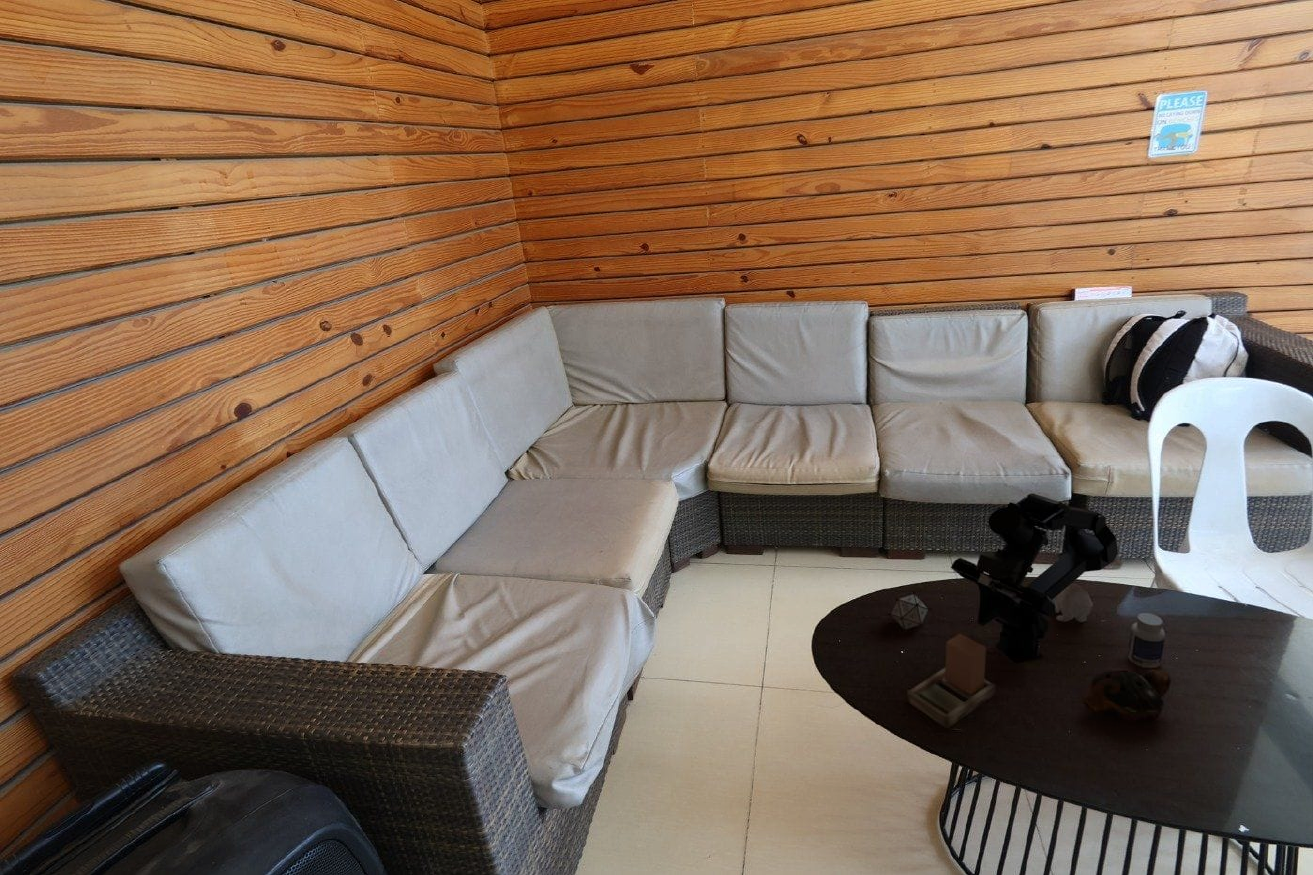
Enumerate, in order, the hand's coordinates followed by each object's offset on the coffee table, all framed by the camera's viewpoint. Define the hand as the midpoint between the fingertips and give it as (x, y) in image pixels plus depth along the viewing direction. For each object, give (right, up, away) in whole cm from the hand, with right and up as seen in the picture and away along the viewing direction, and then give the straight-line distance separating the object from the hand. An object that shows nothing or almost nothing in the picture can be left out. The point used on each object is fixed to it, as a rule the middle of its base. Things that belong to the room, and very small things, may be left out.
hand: (980, 624), depth 129 cm
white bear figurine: (+29, -3, +21) cm, 36 cm away
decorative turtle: (+23, -14, -7) cm, 28 cm away
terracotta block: (-2, -12, +2) cm, 12 cm away
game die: (-5, -7, +22) cm, 24 cm away
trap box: (-5, -14, +1) cm, 16 cm away
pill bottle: (+35, -8, +4) cm, 36 cm away
